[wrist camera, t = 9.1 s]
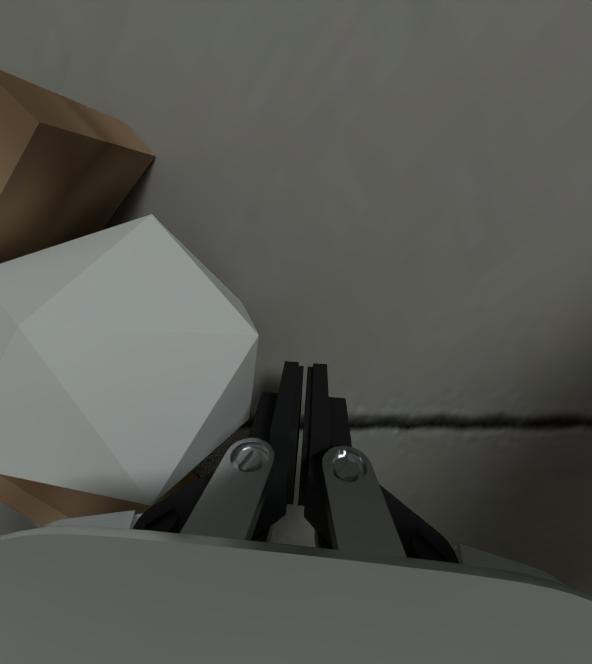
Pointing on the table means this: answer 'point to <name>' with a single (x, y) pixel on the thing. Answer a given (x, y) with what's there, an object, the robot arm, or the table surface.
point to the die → (119, 363)
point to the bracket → (61, 227)
